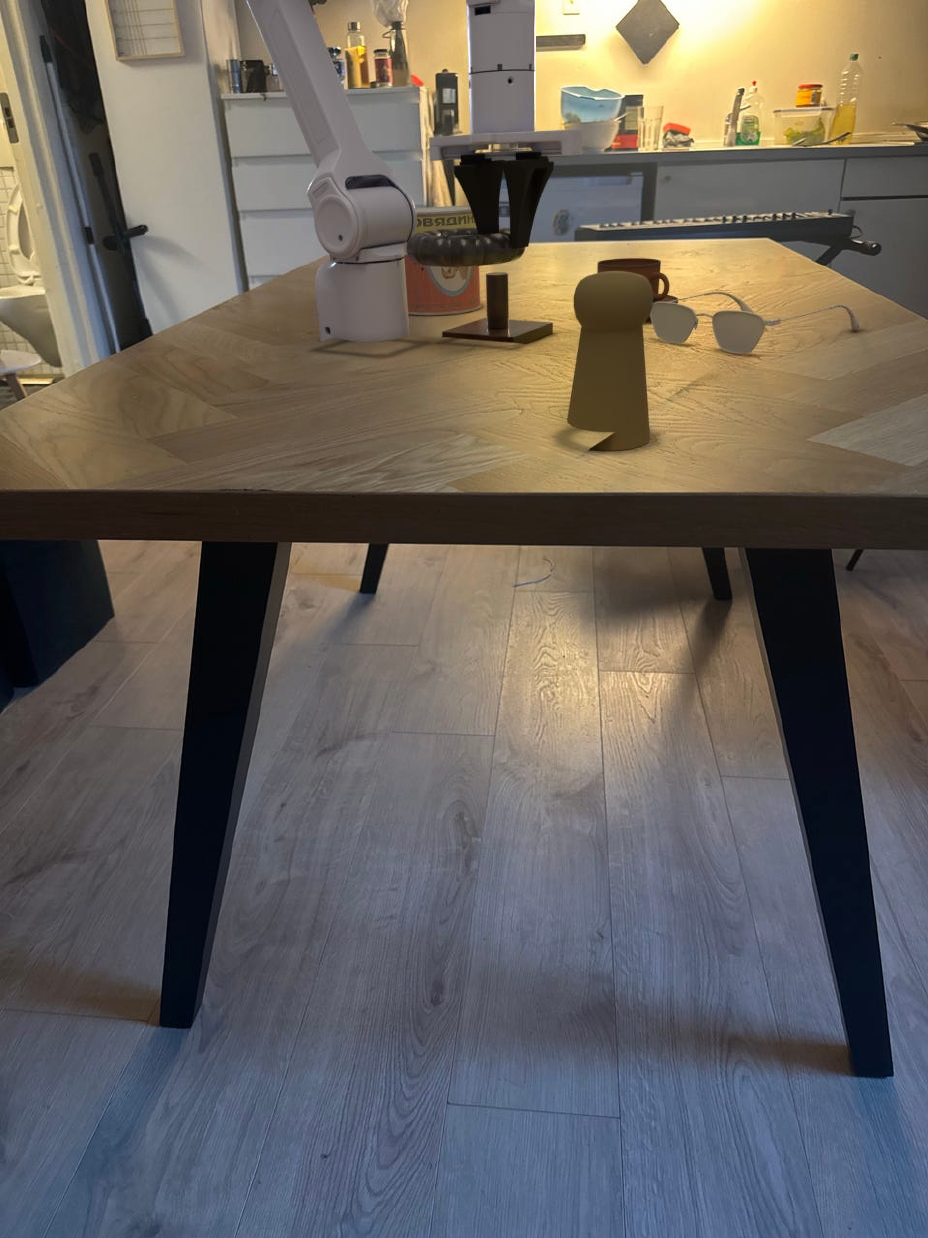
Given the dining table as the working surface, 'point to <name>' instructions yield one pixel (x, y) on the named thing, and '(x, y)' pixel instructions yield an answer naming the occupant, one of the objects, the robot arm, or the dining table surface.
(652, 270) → the cup and saucer
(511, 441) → the dining table surface
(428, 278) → the canned food
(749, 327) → the eyeglasses
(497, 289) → the stand
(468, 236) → the ring
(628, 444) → the cork
